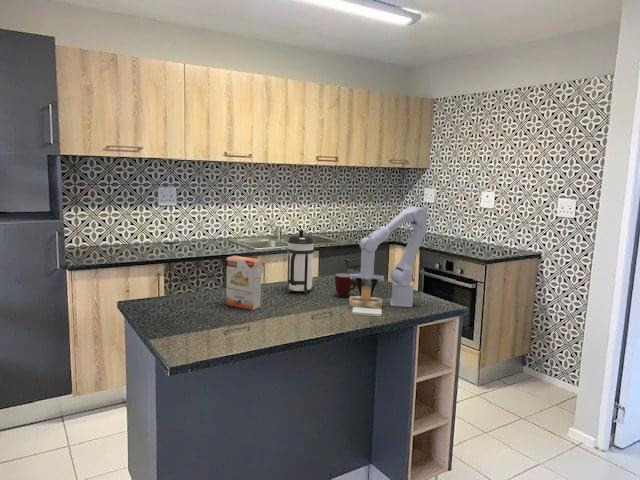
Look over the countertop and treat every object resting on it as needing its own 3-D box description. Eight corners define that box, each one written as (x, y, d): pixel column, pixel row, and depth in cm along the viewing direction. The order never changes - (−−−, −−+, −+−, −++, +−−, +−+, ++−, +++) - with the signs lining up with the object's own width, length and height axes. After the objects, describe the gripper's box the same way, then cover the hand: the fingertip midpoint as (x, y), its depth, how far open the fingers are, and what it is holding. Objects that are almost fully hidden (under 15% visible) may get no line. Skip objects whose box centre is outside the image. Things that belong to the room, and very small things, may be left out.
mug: (349, 292, 229) (350, 272, 228) (359, 296, 222) (360, 275, 221) (331, 294, 224) (331, 274, 222) (340, 299, 217) (341, 277, 215)
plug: (370, 304, 209) (371, 286, 208) (369, 307, 205) (370, 289, 204) (361, 303, 209) (361, 286, 208) (360, 306, 205) (361, 288, 204)
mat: (381, 311, 200) (381, 309, 200) (381, 316, 193) (381, 314, 193) (353, 309, 202) (353, 307, 202) (352, 314, 195) (352, 312, 195)
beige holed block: (381, 304, 211) (381, 298, 210) (381, 310, 202) (381, 303, 201) (350, 302, 212) (350, 295, 212) (348, 308, 203) (348, 301, 203)
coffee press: (277, 288, 231) (278, 227, 226) (307, 286, 238) (309, 227, 233) (290, 298, 216) (292, 232, 211) (322, 295, 222) (324, 232, 218)
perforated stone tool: (368, 287, 241) (369, 274, 240) (359, 288, 238) (360, 274, 237) (352, 280, 254) (353, 268, 253) (344, 281, 251) (345, 268, 250)
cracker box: (225, 305, 201) (225, 257, 198) (234, 302, 206) (235, 254, 203) (252, 311, 195) (253, 261, 191) (261, 307, 200) (262, 258, 197)
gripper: (350, 266, 201) (348, 297, 203) (384, 268, 200) (382, 299, 202) (351, 262, 208) (349, 292, 210) (384, 264, 206) (382, 295, 209)
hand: (365, 295), depth 206 cm, fingers closed on plug, 4 cm apart
